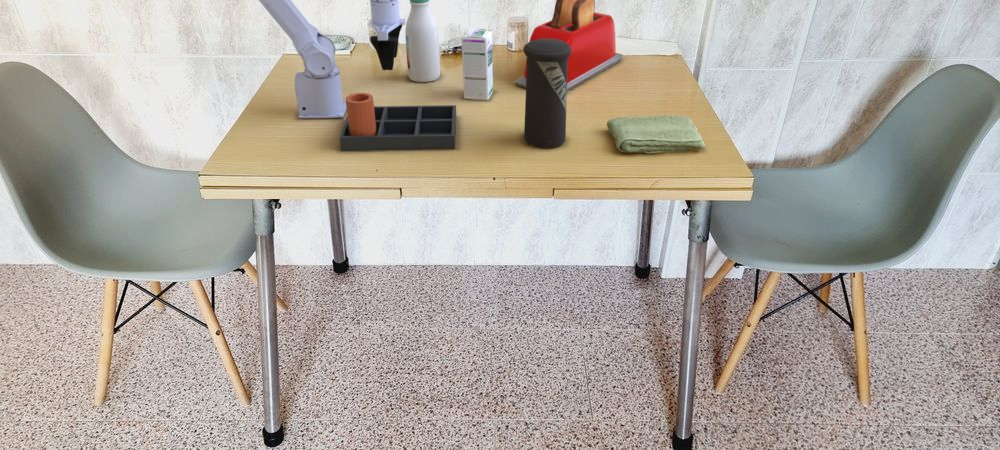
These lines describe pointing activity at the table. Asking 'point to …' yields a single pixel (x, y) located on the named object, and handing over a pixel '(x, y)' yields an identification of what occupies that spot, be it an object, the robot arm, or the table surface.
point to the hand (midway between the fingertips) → (389, 63)
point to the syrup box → (477, 64)
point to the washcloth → (655, 134)
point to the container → (546, 92)
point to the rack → (406, 129)
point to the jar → (361, 114)
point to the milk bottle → (422, 43)
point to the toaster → (580, 40)
